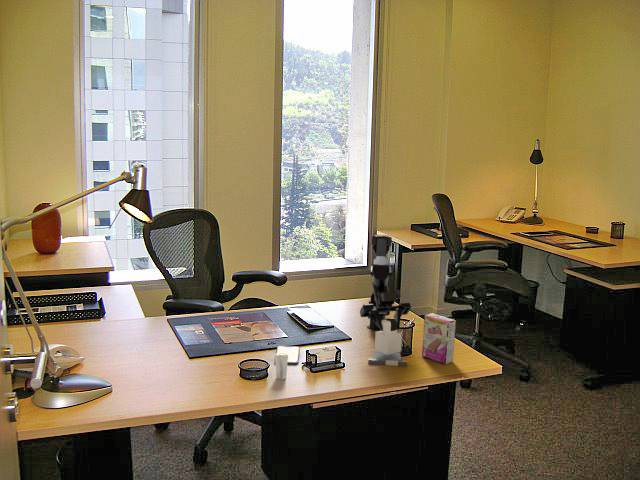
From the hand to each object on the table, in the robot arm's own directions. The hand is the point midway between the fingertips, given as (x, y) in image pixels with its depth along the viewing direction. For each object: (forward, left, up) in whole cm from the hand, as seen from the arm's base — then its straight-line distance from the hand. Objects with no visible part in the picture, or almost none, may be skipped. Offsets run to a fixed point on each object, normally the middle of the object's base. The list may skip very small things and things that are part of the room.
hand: (390, 330), depth 260 cm
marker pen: (+5, +3, -11) cm, 13 cm away
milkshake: (+42, -14, -11) cm, 46 cm away
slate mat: (-1, -1, -11) cm, 11 cm away
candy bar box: (-13, +13, -11) cm, 21 cm away
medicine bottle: (-1, -1, -9) cm, 9 cm away
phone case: (+27, -27, -12) cm, 39 cm away
